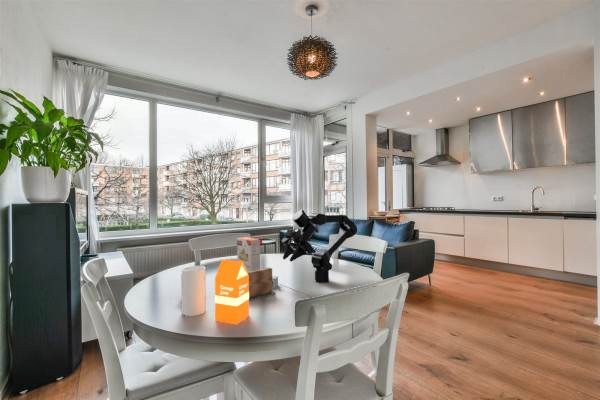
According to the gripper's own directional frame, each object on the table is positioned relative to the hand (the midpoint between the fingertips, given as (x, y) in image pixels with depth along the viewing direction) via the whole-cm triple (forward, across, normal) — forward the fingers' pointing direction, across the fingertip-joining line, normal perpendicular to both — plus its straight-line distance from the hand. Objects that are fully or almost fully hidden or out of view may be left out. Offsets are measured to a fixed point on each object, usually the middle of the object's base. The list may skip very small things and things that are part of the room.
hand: (286, 259), depth 129 cm
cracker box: (+13, -28, +6) cm, 32 cm away
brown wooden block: (+19, 0, -2) cm, 19 cm away
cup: (+39, 0, -20) cm, 44 cm away
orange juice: (+33, +14, -14) cm, 38 cm away
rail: (+23, 0, -4) cm, 23 cm away
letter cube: (+12, -8, +8) cm, 16 cm away
